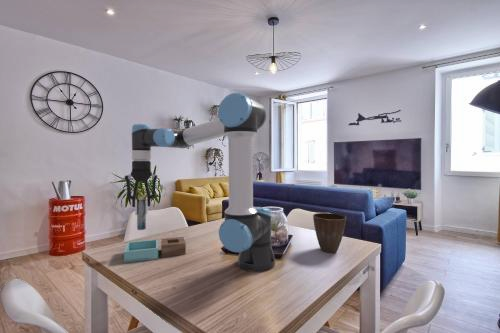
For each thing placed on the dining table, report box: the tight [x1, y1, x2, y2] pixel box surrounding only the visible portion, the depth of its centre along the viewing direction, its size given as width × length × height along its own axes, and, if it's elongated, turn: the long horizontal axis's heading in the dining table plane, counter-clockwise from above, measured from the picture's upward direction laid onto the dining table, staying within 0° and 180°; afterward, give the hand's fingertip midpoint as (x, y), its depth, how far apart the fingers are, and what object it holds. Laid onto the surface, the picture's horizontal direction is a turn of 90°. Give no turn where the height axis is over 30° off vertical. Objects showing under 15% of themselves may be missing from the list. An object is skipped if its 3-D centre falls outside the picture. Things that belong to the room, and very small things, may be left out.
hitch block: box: [160, 236, 187, 258], centre depth 118 cm, size 10×10×5 cm
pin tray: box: [123, 238, 159, 264], centre depth 114 cm, size 13×13×4 cm
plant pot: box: [312, 212, 347, 253], centre depth 121 cm, size 15×15×16 cm
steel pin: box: [136, 196, 147, 231], centre depth 113 cm, size 4×4×14 cm
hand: (141, 214), depth 113 cm, fingers closed on steel pin, 3 cm apart
